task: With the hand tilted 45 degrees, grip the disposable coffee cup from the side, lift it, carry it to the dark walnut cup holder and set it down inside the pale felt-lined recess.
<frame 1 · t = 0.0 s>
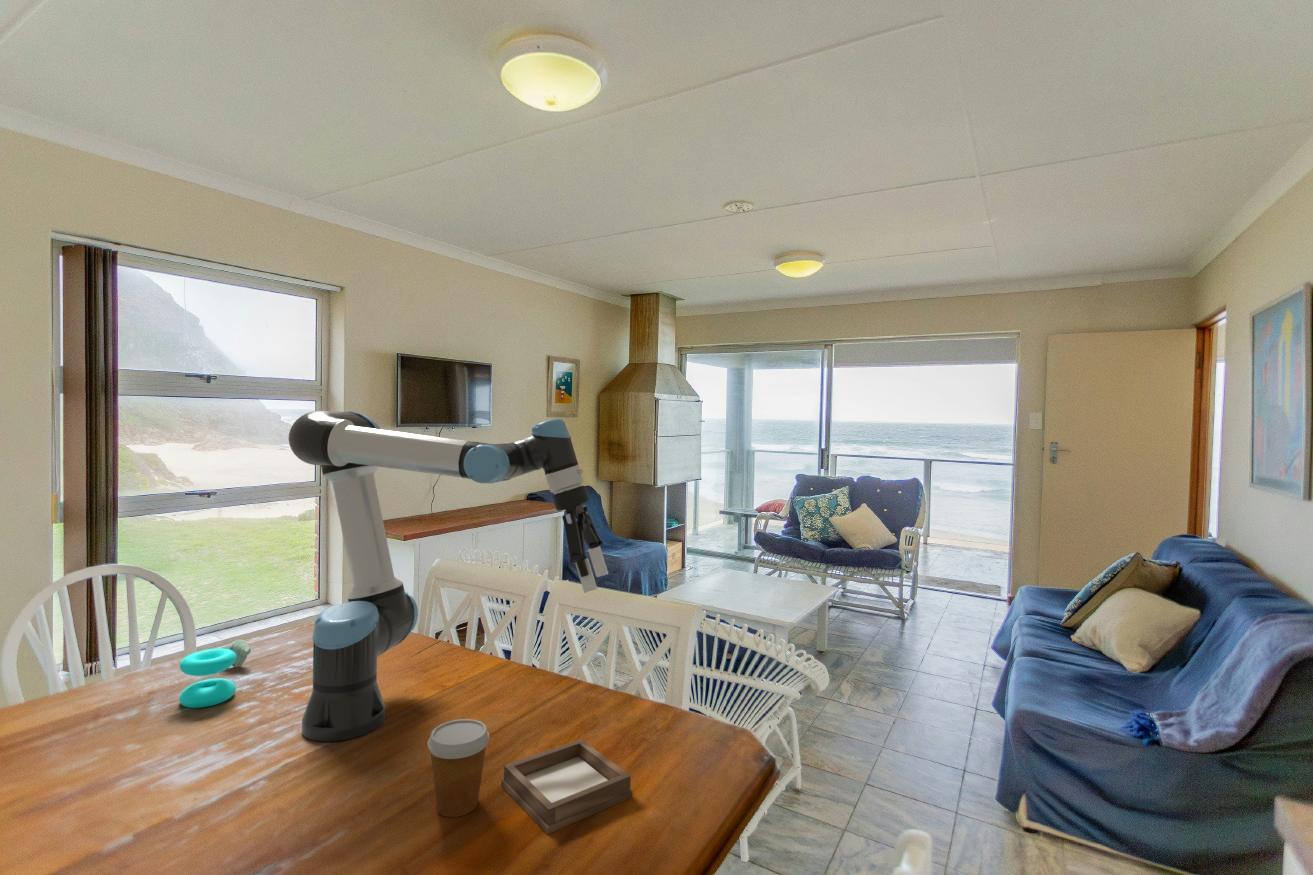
hand: (597, 582, 135), 28 cm above the table, tool tilted 20°, fingers open, 13 cm apart
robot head: (237, 667, 154), on the table
disposable coffee cup: (457, 806, 100), on the table
donuts: (207, 700, 136), on the table
holder: (566, 791, 105), on the table
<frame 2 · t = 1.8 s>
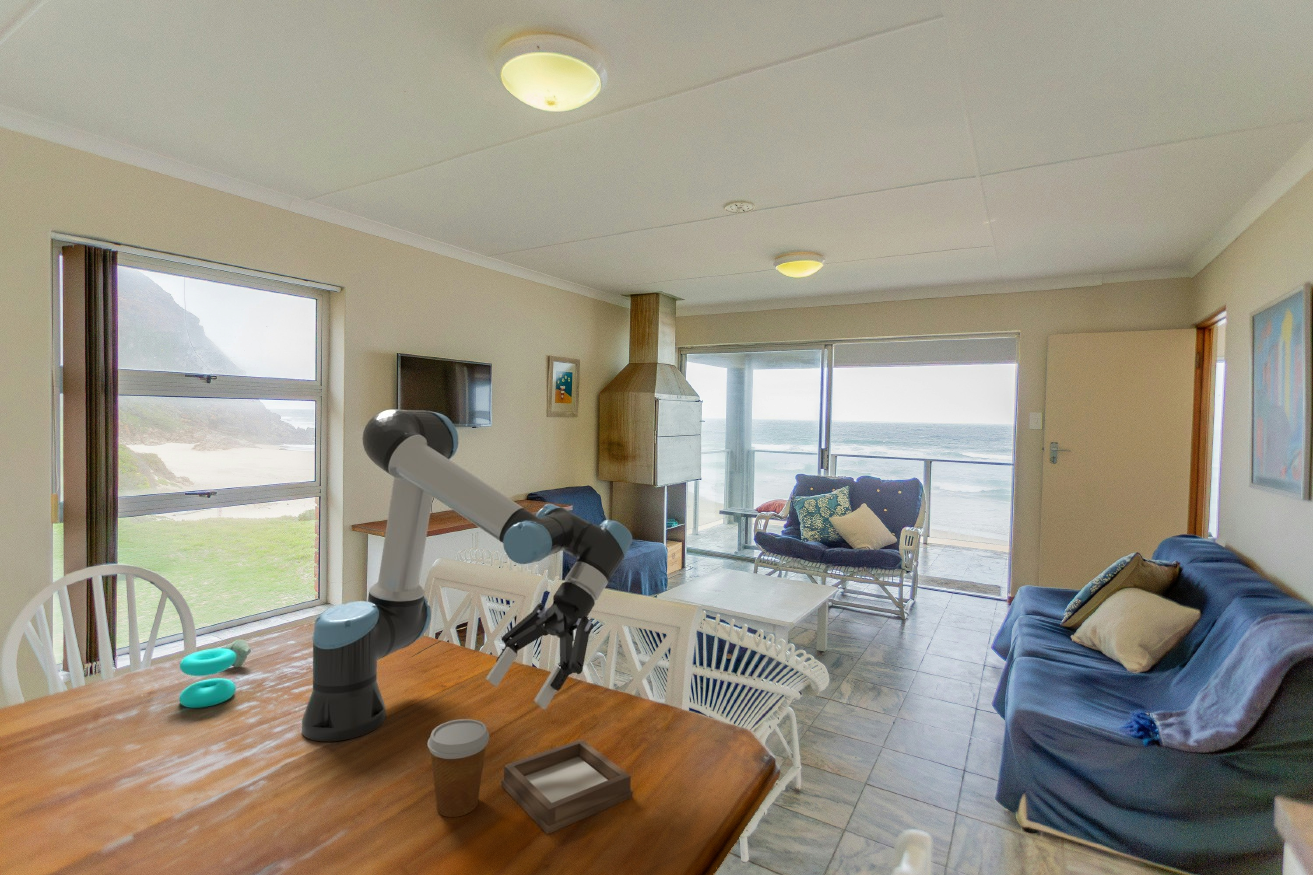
hand: (514, 693, 108), 15 cm above the table, tool tilted 45°, fingers open, 13 cm apart
nothing on the table moved.
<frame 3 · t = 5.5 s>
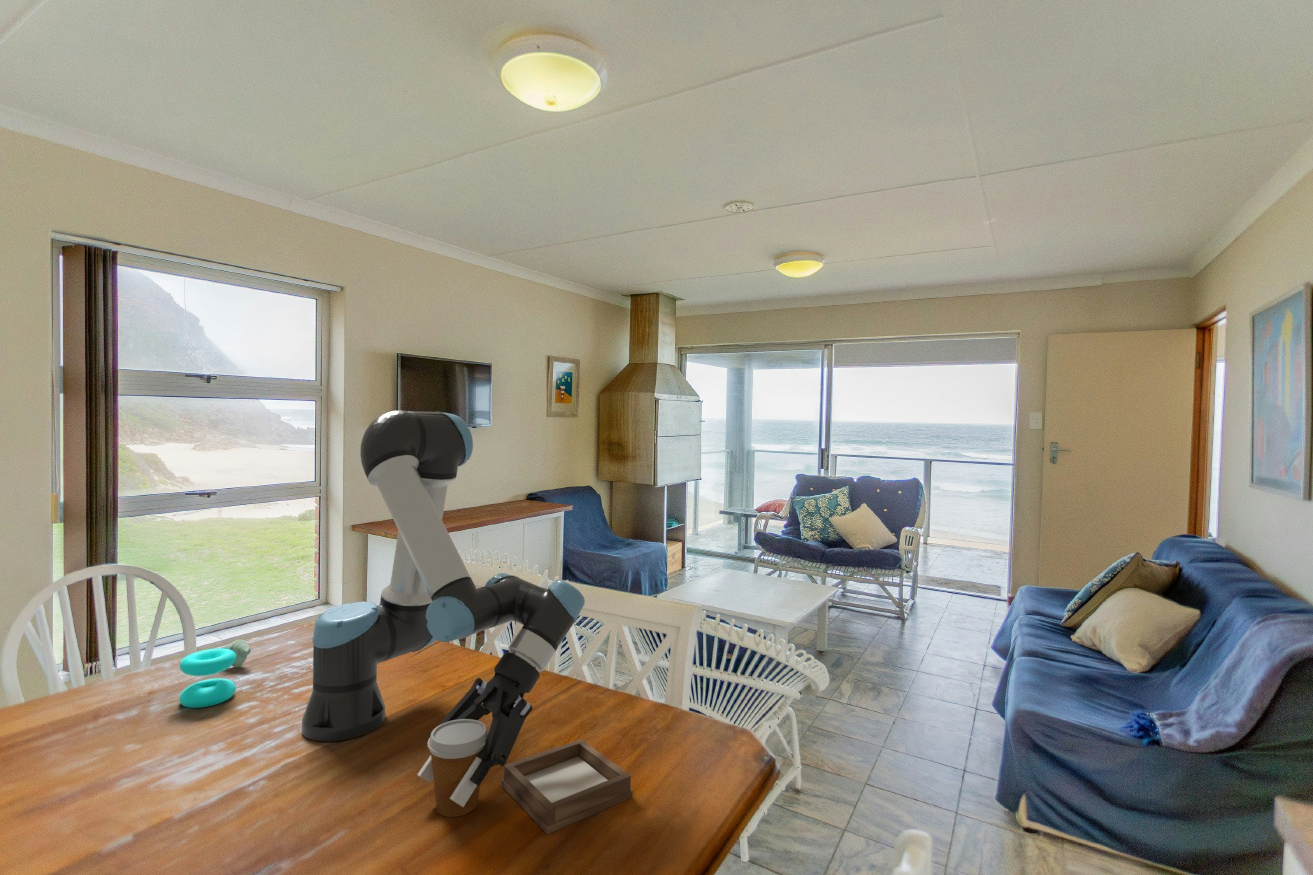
hand: (439, 790, 98), 4 cm above the table, tool tilted 45°, fingers closed on disposable coffee cup, 9 cm apart
disposable coffee cup: (457, 806, 100), on the table, touching gripper
everything else where it was.
when the fingers open (6 cm above the table, at t = 10.6 s): disposable coffee cup moves 3 cm, resting on holder.
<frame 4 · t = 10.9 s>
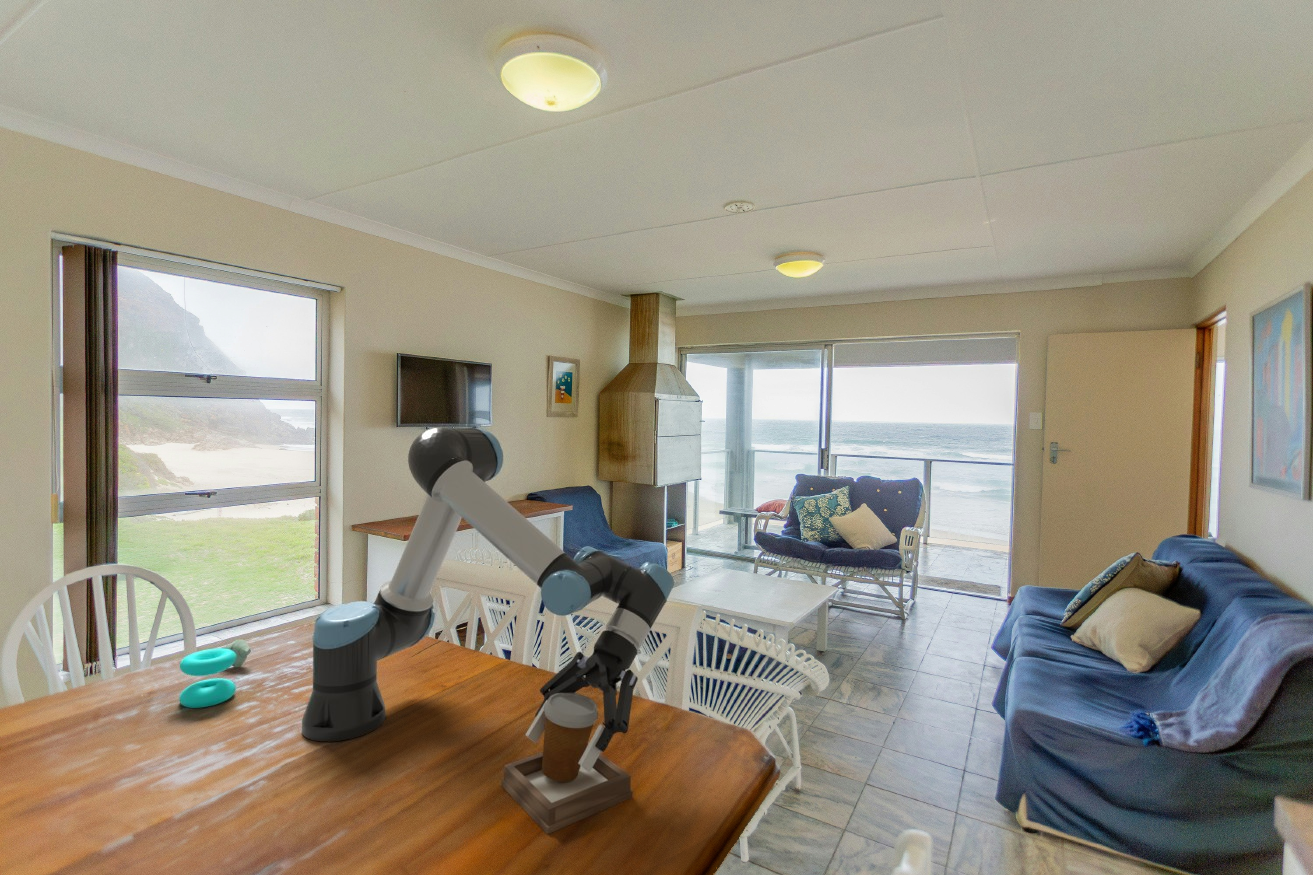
hand: (556, 752, 103), 7 cm above the table, tool tilted 45°, fingers open, 13 cm apart
disposable coffee cup: (559, 772, 107), point 2 cm above the table, touching gripper, holder
everything else where it was.
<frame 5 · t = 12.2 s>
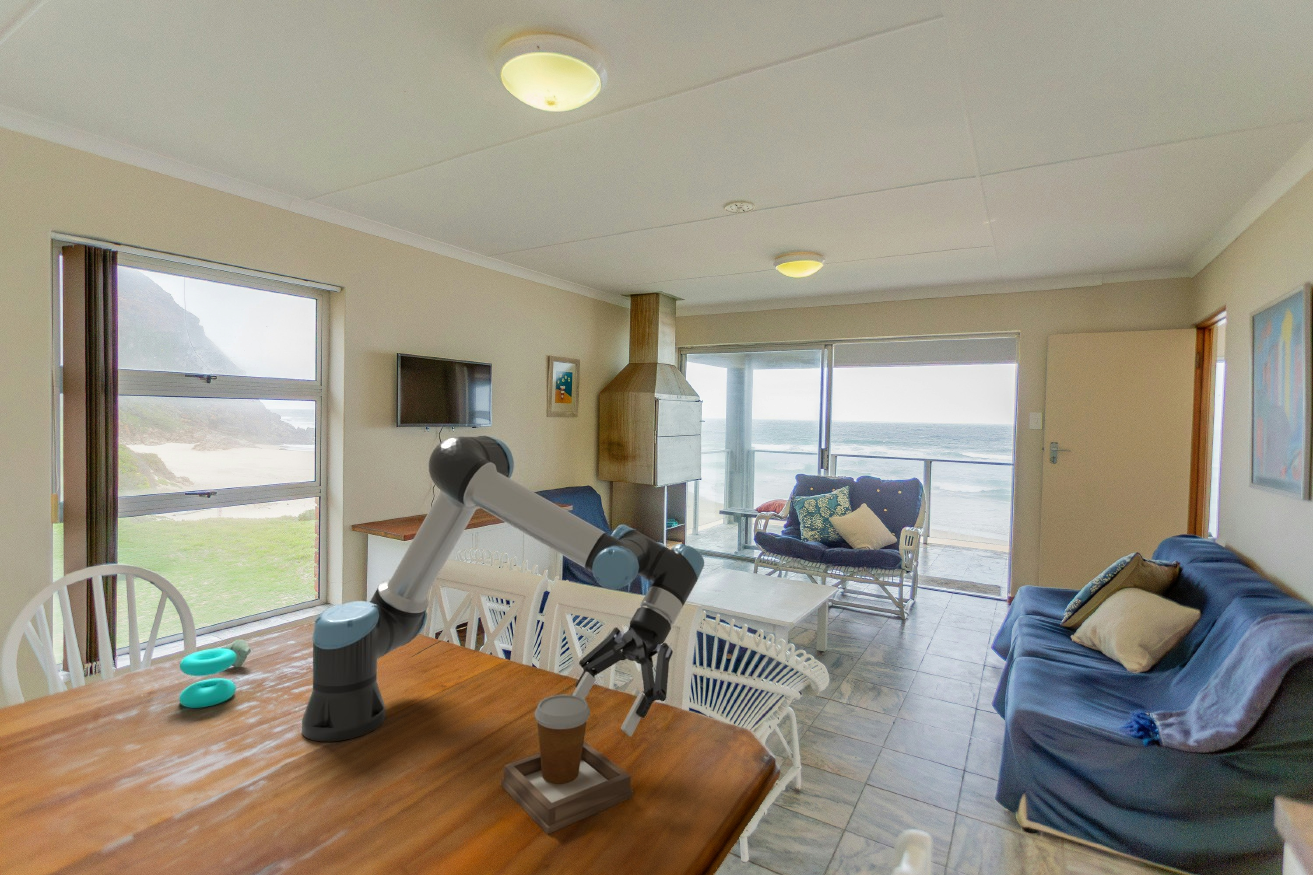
hand: (597, 719, 109), 10 cm above the table, tool tilted 45°, fingers open, 13 cm apart
disposable coffee cup: (560, 775, 107), point 1 cm above the table, touching holder
everything else where it was.
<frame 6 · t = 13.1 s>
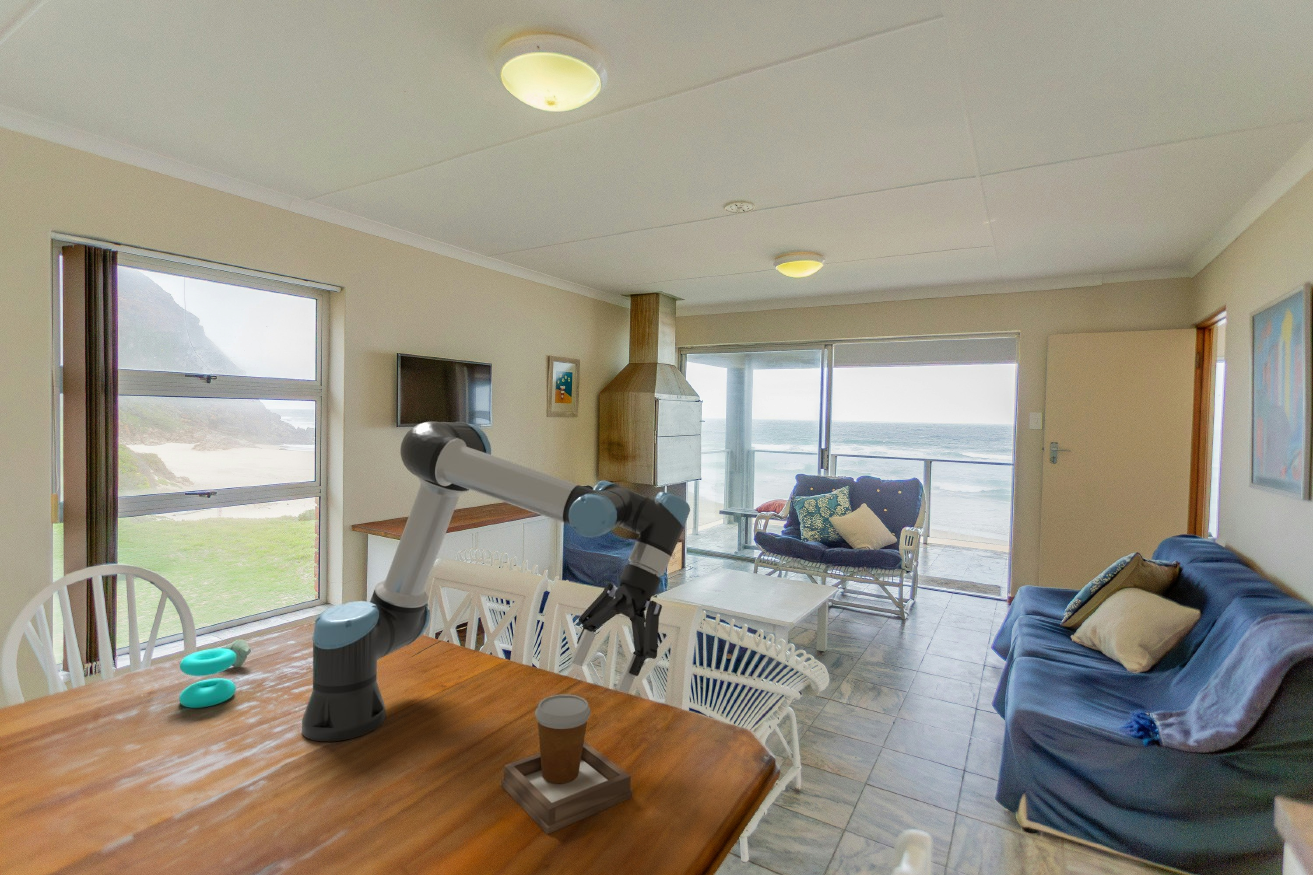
hand: (597, 677, 115), 15 cm above the table, tool tilted 30°, fingers open, 13 cm apart
nothing on the table moved.
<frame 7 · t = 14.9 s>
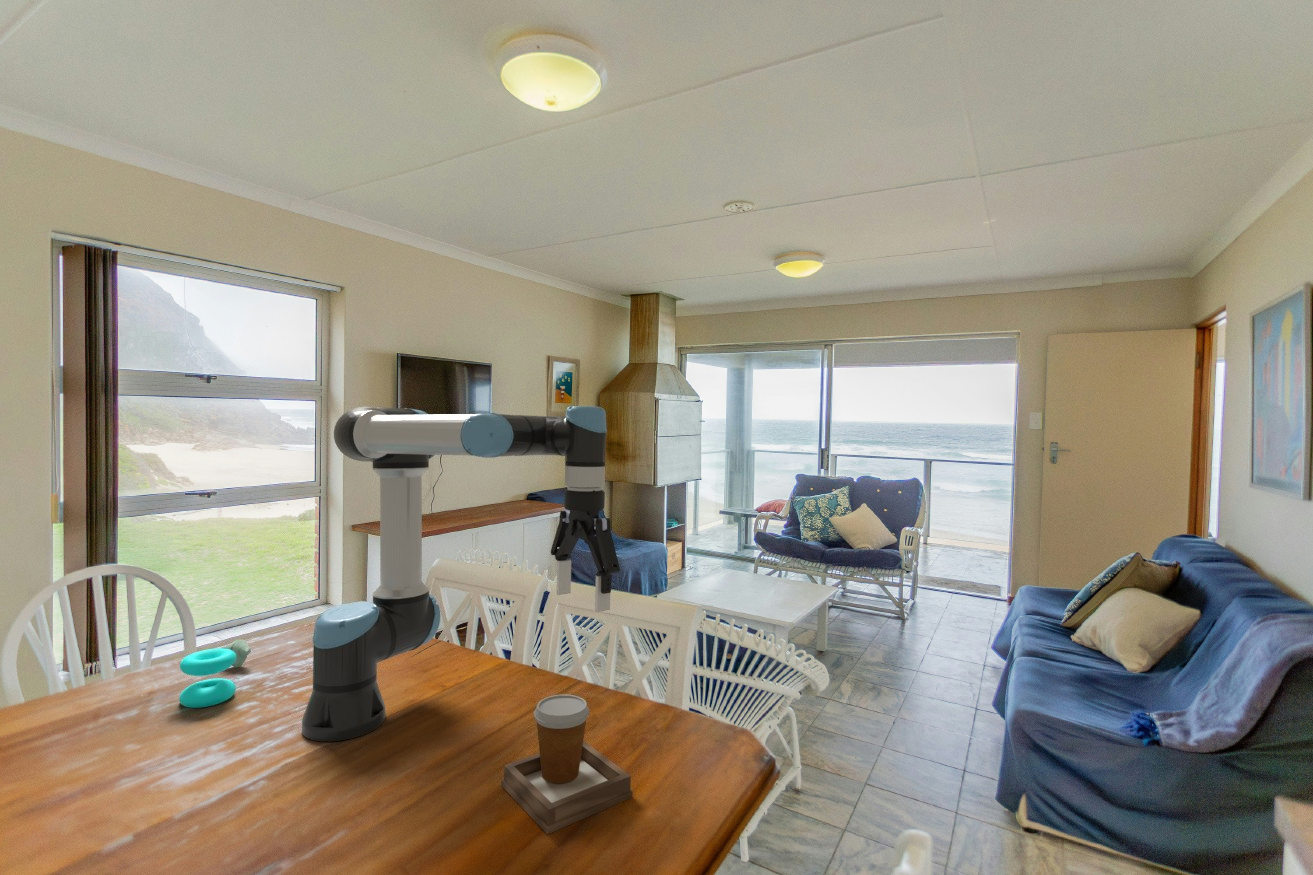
hand: (582, 601, 116), 29 cm above the table, tool pointing down, fingers open, 13 cm apart
nothing on the table moved.
at the end: disposable coffee cup 3.1 cm from the holder (horizontally); disposable coffee cup tilted 0°; the gripper is holding nothing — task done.
